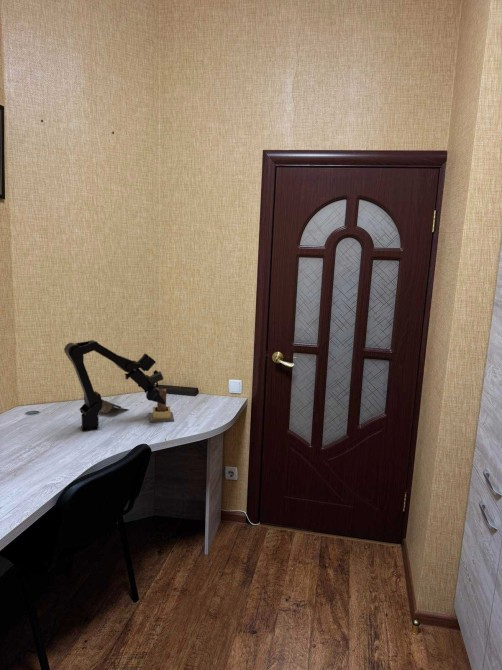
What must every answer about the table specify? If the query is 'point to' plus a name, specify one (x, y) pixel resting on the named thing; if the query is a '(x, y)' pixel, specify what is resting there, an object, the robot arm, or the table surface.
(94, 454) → the table surface
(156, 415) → the gold square frame
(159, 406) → the rail post
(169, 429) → the table surface
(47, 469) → the table surface
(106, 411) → the wall
